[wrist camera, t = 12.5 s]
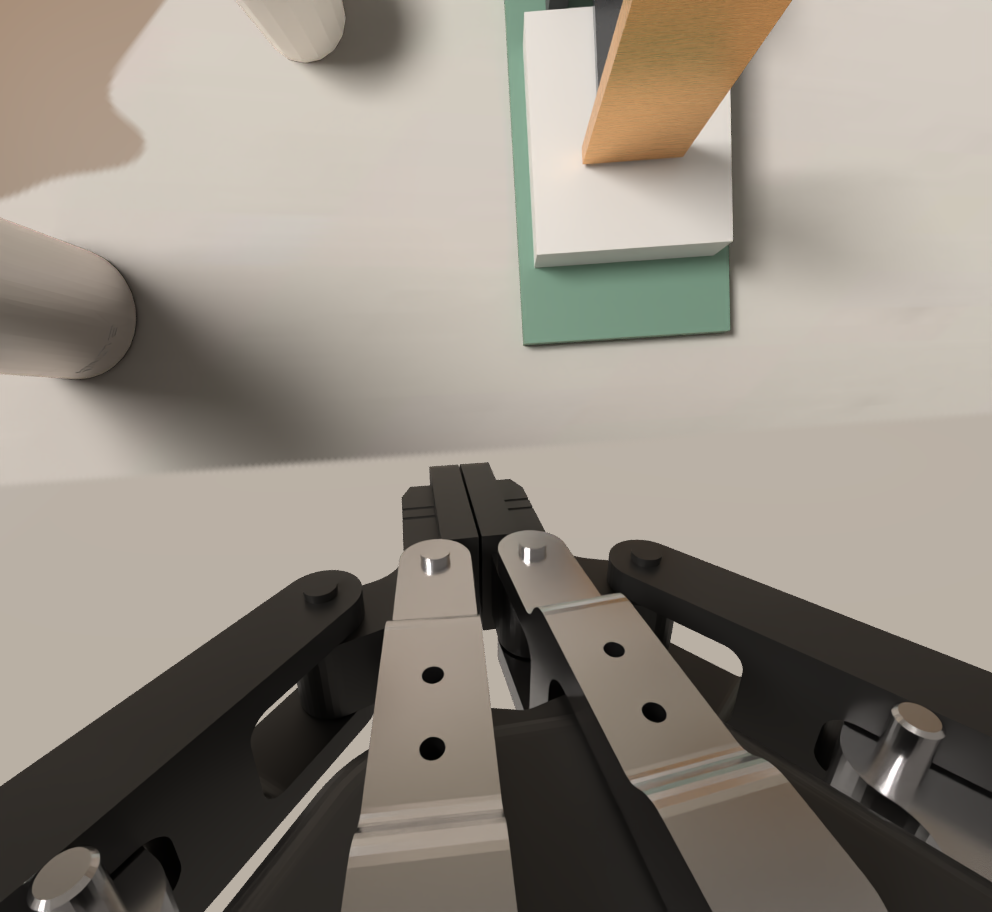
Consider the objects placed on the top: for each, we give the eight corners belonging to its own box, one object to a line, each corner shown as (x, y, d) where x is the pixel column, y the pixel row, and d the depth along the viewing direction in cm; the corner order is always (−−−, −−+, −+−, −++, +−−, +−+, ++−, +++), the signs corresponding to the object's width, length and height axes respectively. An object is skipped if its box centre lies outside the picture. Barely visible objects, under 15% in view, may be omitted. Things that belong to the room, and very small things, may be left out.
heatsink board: (724, 332, 36) (780, 312, 29) (523, 345, 36) (527, 329, 29) (716, -40, 34) (775, -167, 26) (503, -22, 34) (501, -142, 27)
